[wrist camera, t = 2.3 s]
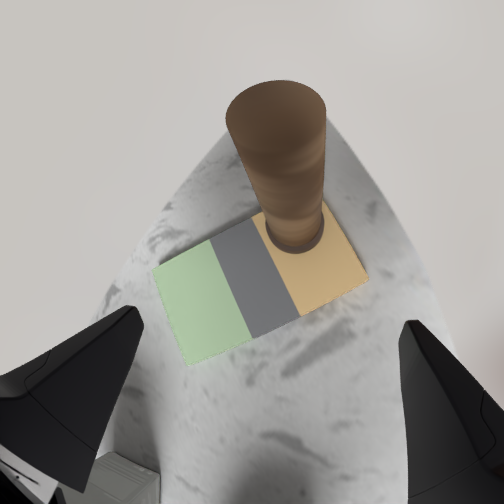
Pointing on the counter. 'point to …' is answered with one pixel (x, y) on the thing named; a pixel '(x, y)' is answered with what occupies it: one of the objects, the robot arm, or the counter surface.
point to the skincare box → (116, 483)
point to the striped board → (250, 285)
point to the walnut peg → (283, 158)
